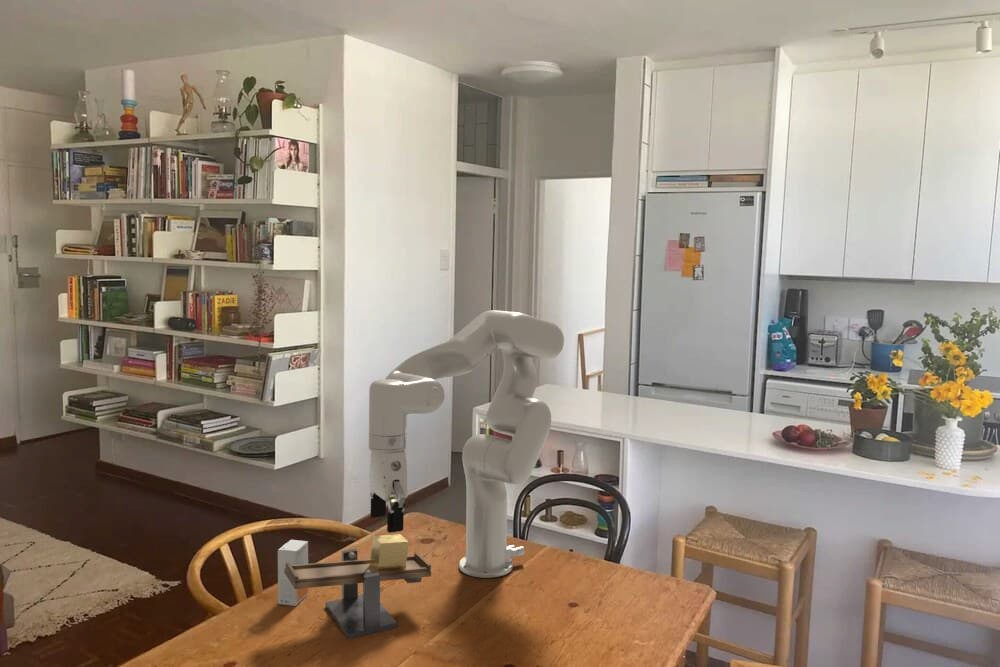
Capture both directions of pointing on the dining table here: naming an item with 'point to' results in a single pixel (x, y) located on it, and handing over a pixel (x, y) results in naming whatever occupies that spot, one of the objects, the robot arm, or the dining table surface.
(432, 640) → the dining table surface
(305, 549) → the skincare box
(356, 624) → the stand
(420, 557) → the beam
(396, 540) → the block
